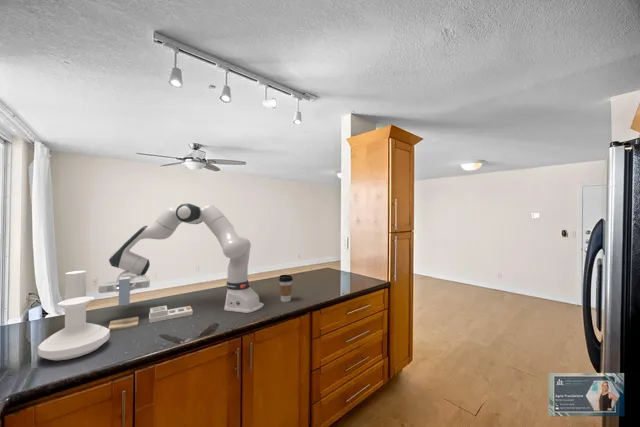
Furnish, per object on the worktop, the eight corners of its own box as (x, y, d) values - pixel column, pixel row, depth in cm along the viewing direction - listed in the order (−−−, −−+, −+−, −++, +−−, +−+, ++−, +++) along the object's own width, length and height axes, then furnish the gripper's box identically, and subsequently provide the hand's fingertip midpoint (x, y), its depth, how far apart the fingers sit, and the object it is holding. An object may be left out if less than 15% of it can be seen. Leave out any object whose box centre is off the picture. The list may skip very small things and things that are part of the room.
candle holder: (122, 338, 109) (122, 292, 110) (79, 366, 89) (79, 310, 90) (73, 339, 109) (74, 293, 109) (19, 366, 89) (20, 310, 89)
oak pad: (110, 323, 125) (110, 320, 125) (138, 318, 131) (138, 316, 131) (107, 331, 116) (107, 329, 116) (137, 325, 122) (137, 323, 122)
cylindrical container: (62, 329, 117) (62, 274, 118) (68, 324, 124) (69, 271, 124) (82, 326, 121) (83, 272, 121) (87, 321, 127) (88, 270, 127)
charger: (119, 302, 125) (119, 277, 125) (129, 301, 127) (130, 276, 127) (118, 305, 121) (118, 279, 121) (129, 304, 123) (129, 278, 123)
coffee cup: (287, 297, 166) (287, 273, 166) (295, 300, 160) (295, 276, 160) (276, 300, 160) (276, 275, 160) (284, 303, 154) (284, 278, 154)
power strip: (149, 322, 125) (149, 313, 126) (149, 316, 133) (149, 308, 133) (192, 314, 136) (192, 306, 136) (190, 309, 144) (190, 301, 144)
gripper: (100, 279, 129) (95, 285, 117) (149, 274, 140) (149, 279, 129) (100, 291, 129) (95, 299, 117) (149, 285, 140) (149, 292, 129)
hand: (124, 289), depth 123 cm, fingers closed on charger, 4 cm apart
